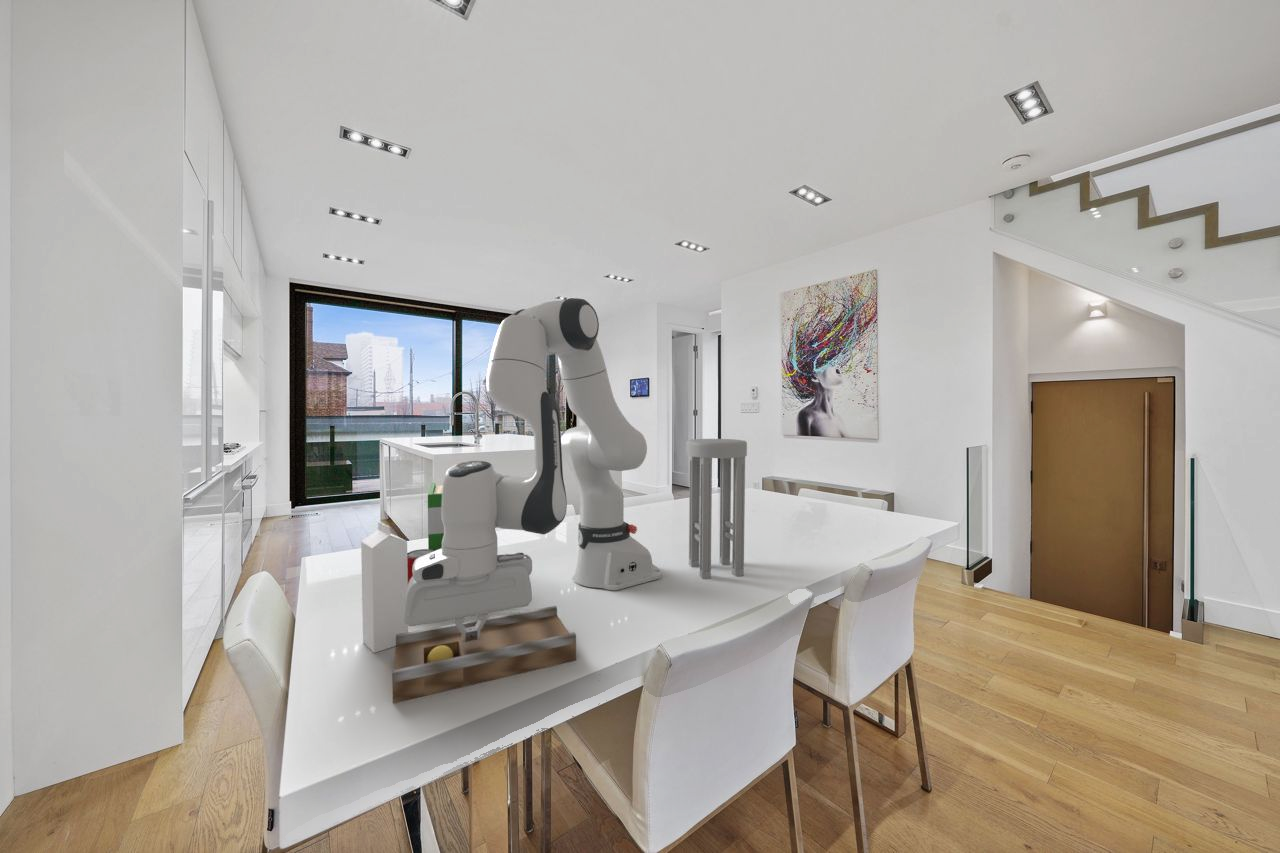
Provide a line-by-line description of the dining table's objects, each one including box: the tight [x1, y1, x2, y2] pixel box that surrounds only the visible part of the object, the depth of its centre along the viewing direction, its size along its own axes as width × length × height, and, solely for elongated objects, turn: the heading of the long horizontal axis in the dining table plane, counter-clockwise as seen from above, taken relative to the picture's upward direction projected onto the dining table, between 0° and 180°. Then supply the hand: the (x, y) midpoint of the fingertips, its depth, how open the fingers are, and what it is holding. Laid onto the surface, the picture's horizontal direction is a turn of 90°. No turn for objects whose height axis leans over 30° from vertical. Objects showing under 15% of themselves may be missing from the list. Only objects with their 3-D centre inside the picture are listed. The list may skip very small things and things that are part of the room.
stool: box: [685, 438, 748, 580], centre depth 126 cm, size 16×16×35 cm
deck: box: [391, 605, 577, 704], centre depth 81 cm, size 28×13×4 cm, turn 115°
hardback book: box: [427, 482, 444, 551], centre depth 115 cm, size 18×7×24 cm, turn 21°
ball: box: [427, 645, 453, 663], centre depth 78 cm, size 4×4×4 cm
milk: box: [360, 521, 409, 654], centre depth 87 cm, size 6×6×22 cm
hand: (470, 639), depth 80 cm, fingers closed
